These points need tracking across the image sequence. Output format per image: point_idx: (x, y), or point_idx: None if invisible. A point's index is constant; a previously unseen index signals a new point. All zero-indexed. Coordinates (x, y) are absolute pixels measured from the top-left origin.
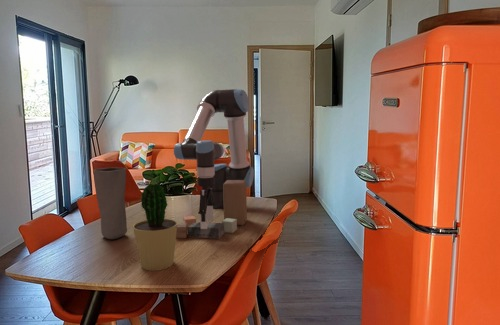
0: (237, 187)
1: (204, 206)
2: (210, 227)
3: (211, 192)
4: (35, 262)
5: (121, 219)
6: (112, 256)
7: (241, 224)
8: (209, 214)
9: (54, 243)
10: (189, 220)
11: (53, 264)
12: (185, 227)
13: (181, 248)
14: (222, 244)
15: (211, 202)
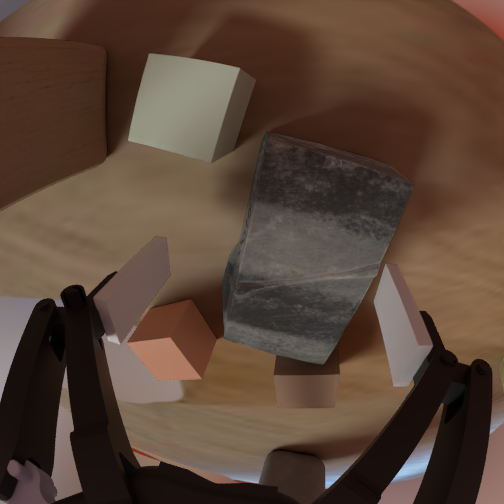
0: None
1: (486, 419)
2: (385, 244)
3: (88, 483)
4: (401, 476)
5: (310, 496)
6: (432, 433)
7: (105, 62)
8: (149, 283)
9: None
10: (192, 359)
11: (422, 464)
12: (339, 372)
13: (462, 325)
14: (472, 149)
15: (93, 338)
